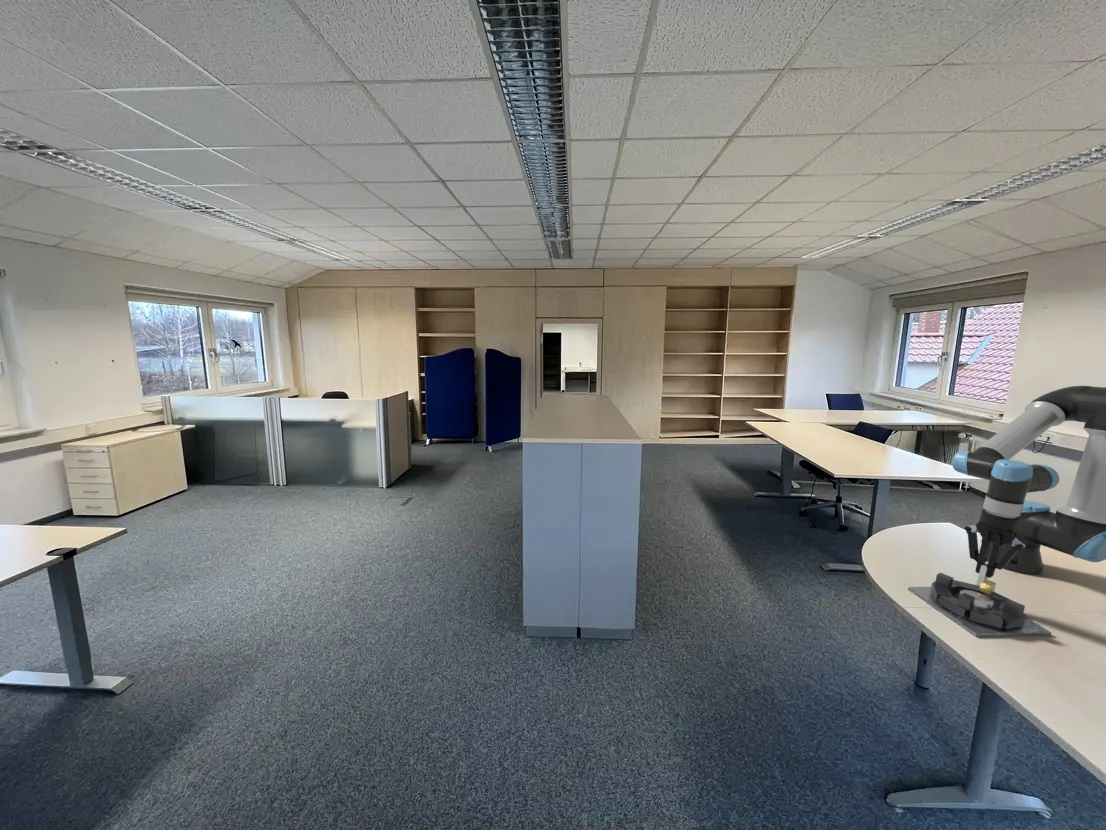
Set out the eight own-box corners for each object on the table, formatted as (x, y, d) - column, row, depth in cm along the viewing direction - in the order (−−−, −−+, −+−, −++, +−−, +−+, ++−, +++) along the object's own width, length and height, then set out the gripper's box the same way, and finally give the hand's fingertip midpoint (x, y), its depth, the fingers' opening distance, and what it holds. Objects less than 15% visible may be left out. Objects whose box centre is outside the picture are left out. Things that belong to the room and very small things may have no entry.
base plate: (971, 589, 133) (974, 576, 132) (1050, 635, 113) (1054, 620, 112) (907, 589, 133) (910, 577, 132) (975, 636, 112) (978, 621, 111)
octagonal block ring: (1007, 600, 125) (1011, 583, 124) (1033, 637, 110) (1038, 618, 109) (926, 580, 135) (929, 565, 134) (940, 612, 119) (943, 595, 118)
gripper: (1038, 519, 117) (1016, 593, 122) (978, 502, 128) (960, 570, 133) (1026, 524, 114) (1004, 600, 119) (965, 506, 125) (948, 575, 130)
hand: (981, 584), depth 126 cm, fingers closed
